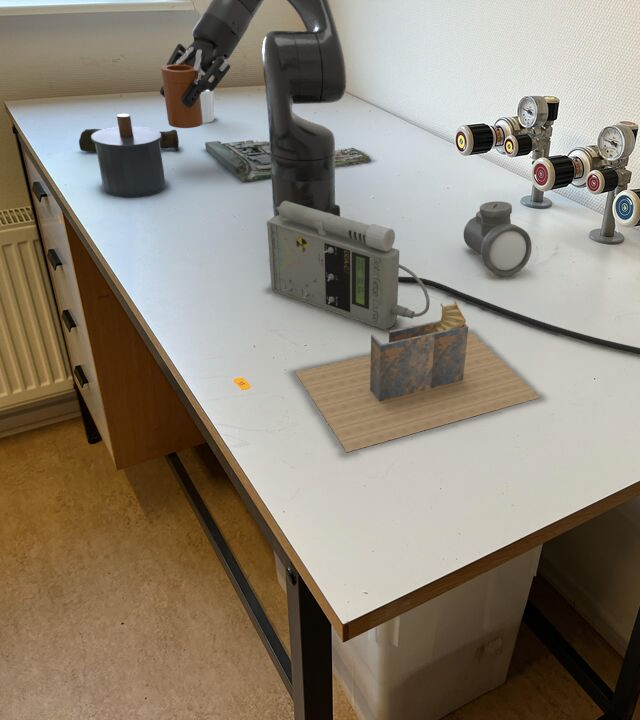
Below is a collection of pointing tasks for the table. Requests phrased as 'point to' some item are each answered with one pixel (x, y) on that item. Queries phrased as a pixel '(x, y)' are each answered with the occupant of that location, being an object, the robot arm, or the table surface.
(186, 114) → the jar
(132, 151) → the tin
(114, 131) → the tin lid
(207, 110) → the white cylinder
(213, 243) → the table surface
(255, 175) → the model
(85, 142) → the hand tool
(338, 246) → the geiger counter
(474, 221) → the pipe fitting
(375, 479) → the table surface
